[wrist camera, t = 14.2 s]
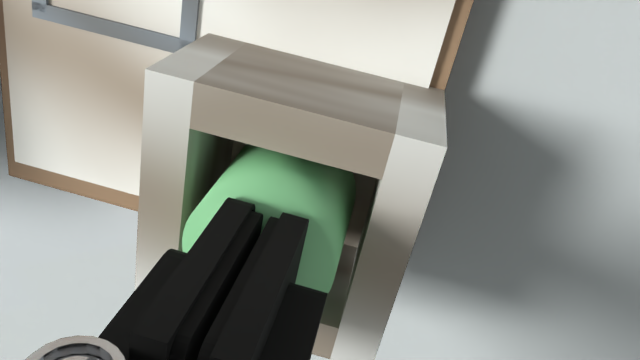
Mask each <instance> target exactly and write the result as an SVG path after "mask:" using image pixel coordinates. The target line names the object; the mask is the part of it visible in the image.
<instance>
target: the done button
mask: <svg viewBox="0 0 640 360" xmlns="http://www.w3.org/2000/svg"><path fill="white" fill-rule="evenodd" d="M228 197H230V198H234V199H237V200H241V201H244V202H248V203H252V204H255V212H257V213H261V214H263V222H262V228H261V233H262V231H263V229H264V227H265V225H266V223H267V221H268V220H269V218H270V217H271V216H272V217H275V218H280V216H281V214H282V213H283V212H284V213H288V214H291V215H295V216H299V217H302V218H306V219H309V225H308V229H307V233H306V238H305V242H304V247H303V251H302V255H301V260H300V264H299V269H298V273H297V278H296V282H295V284H298V285H301V286H305V287H308V288H312V289H315V290H319V291H322V292H326V293H329V291H330V289H331V287H332V284H333V281H334V278H335V274H336V271H337V267H338V263H339V259H340V256H341V252H342V248H343V245H344V241H345V237H346V233H347V230H348V226H349V222H350V219H351V215H352V211H353V207H354V204H355V198H356V184H355V179H354V175H353V172H351V171H347V170H343V169H339V168H336V167H332V166H328V165H324V164H321V163H317V162H313V161H309V160H306V159H302V158H298V157H294V156H291V155H287V154H283V153H279V152H276V151H272V150H268V149H265V148H261V147H257V146H253V145H250V144H246V145H245V146H244V147H243V149H242V150H241V151H240V152H239V154H238V155H237V156H236V158H235V159H234V160H233V161H232V163H231V164H230V165H229V166H228V168H227V169H226V170H225V172H224V173H223V174H222V175H221V177H220V178H219V179H218V180H217V182H216V183H215V184H214V186H213V187H212V188H211V189H210V191H209V192H208V193H207V194H206V196H205V197H204V198H203V199H202V201H201V202H200V203H199V205H198V206H197V207H196V208H195V210H194V211H193V212H192V213H191V215H190V216H189V218H188V220H187V222H186V225H185V228H184V231H183V236H182V250H183V252H186V253H188V251H189V250H190V249H191V247H192V246H193V244H194V243H195V242H196V240H197V239H198V238H199V236H200V235H201V233H202V232H203V231H204V229H205V228H206V226H207V225H208V224H209V222H210V221H211V220H212V218H213V217H214V215H215V214H216V213H217V211H218V210H219V208H220V207H221V206H222V204H223V203H224V201H225V200H226V199H227V198H228Z"/></svg>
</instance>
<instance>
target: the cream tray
mask: <svg viewBox="0 0 640 360" xmlns="http://www.w3.org/2000/svg"><path fill="white" fill-rule="evenodd" d="M473 1H474V0H0V75H1V87H2V99H3V111H4V123H5V135H6V147H7V159H8V171H9V175H10V176H13V177H17V178H20V179H24V180H28V181H31V182H35V183H38V184H42V185H45V186H49V187H53V188H56V189H60V190H63V191H67V192H70V193H74V194H78V195H81V196H85V197H88V198H92V199H95V200H99V201H103V202H106V203H110V204H113V205H117V206H120V207H124V208H128V209H131V210H135V211H138V229H137V250H136V272H135V290H136V289H137V287H138V286H139V285H140V284H141V282H142V281H143V280H144V278H145V277H146V276H147V275H148V273H149V272H150V271H151V270H152V268H153V267H154V266H155V264H156V263H157V262H158V261H159V259H160V258H161V257H162V256H163V254H164V253H165V252H166V251H167V250H169V249H175V250H179V251H182V252H183V250H182V236H183V231H184V228H185V225H186V222H187V220H188V218H189V216H190V215H191V213H192V212H193V211H194V210H195V208H196V207H197V206H198V205H199V203H200V202H201V201H202V199H203V198H204V197H205V196H206V194H207V193H208V192H209V191H210V189H211V188H212V187H213V186H214V184H215V183H216V182H217V180H218V179H219V178H220V177H221V175H222V174H223V173H224V172H225V170H226V169H227V168H228V166H229V165H230V164H231V163H232V161H233V160H234V159H235V158H236V156H237V155H238V154H239V152H240V151H241V150H242V149H243V147H244V146H245V145H246V144H250V145H253V146H257V147H261V148H265V149H268V150H272V151H276V152H279V153H283V154H287V155H291V156H294V157H298V158H302V159H306V160H309V161H313V162H317V163H321V164H324V165H328V166H332V167H336V168H339V169H343V170H347V171H351V172H353V175H354V179H355V184H356V198H355V204H354V207H353V211H352V215H351V219H350V222H349V226H348V230H347V233H346V237H345V241H344V245H343V248H342V252H341V256H340V259H339V263H338V267H337V271H336V274H335V278H334V281H333V284H332V287H331V289H330V291H329V293H328V295H327V298H326V302H325V306H324V310H323V314H322V317H321V321H320V325H319V329H318V332H317V336H316V340H315V343H314V347H313V351H312V354H314V355H317V356H321V357H324V358H328V359H331V360H374V359H375V357H376V354H377V351H378V348H379V345H380V342H381V339H382V336H383V333H384V330H385V327H386V325H387V322H388V319H389V316H390V313H391V310H392V307H393V304H394V301H395V298H396V296H397V293H398V290H399V287H400V284H401V281H402V278H403V275H404V272H405V269H406V267H407V264H408V261H409V258H410V255H411V252H412V249H413V246H414V243H415V240H416V237H417V235H418V232H419V229H420V226H421V223H422V220H423V217H424V214H425V211H426V208H427V206H428V203H429V200H430V197H431V194H432V191H433V188H434V185H435V182H436V179H437V176H438V174H439V171H440V168H441V165H442V162H443V159H444V156H445V153H446V150H447V129H446V109H445V87H446V84H447V81H448V78H449V75H450V72H451V69H452V66H453V63H454V60H455V56H456V53H457V50H458V47H459V44H460V41H461V38H462V35H463V32H464V29H465V26H466V22H467V19H468V16H469V13H470V10H471V7H472V4H473Z"/></svg>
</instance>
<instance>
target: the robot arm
mask: <svg viewBox="0 0 640 360" xmlns="http://www.w3.org/2000/svg"><path fill="white" fill-rule="evenodd" d="M262 222H263V214H261V213H257V212H255V204H252V203H248V202H244V201H241V200H237V199H234V198H230V197H228V198H227V199H226V200H225V201H224V203H223V204H222V206H221V207H220V208H219V210H218V211H217V213H216V214H215V215H214V217H213V218H212V220H211V221H210V222H209V224H208V225H207V226H206V228H205V229H204V231H203V232H202V233H201V235H200V236H199V238H198V239H197V240H196V242H195V243H194V244H193V246H192V247H191V249H190V250H189V251H188V253H186V252H182V251H179V250H175V249H169V250H167V251H166V252H165V253H164V254H163V256H162V257H161V258H160V259H159V261H158V262H157V263H156V264H155V266H154V267H153V268H152V270H151V271H150V272H149V273H148V275H147V276H146V277H145V278H144V280H143V281H142V282H141V284H140V285H139V286H138V287H137V289H136V290H135V291H134V292H133V294H132V295H131V296H130V298H129V299H128V300H127V301H126V303H125V304H124V305H123V306H122V308H121V309H120V310H119V312H118V313H117V314H116V315H115V317H114V318H113V319H112V320H111V322H110V323H109V324H108V325H107V327H106V328H105V329H104V331H103V332H102V333H101V334H100V336H99V337H98V338H97V337H94V336H72V337H65V338H61V339H58V340H55V341H53V342H50V343H48V344H46V345H44V346H43V347H41V348H39V349H38V350H36V351H35V352H33V353H32V354H31V355H30V356H29V357H27V358H26V359H25V360H310V358H311V354H312V351H313V347H314V343H315V340H316V336H317V332H318V329H319V325H320V321H321V317H322V314H323V310H324V306H325V302H326V298H327V295H328V293H326V292H322V291H319V290H315V289H312V288H308V287H305V286H301V285H298V284H295V282H296V278H297V273H298V269H299V264H300V260H301V255H302V251H303V247H304V242H305V238H306V233H307V229H308V225H309V219H306V218H302V217H299V216H295V215H291V214H288V213H284V212H283V213H282V214H281V216H280V218H275V217H272V216H271V217H270V218H269V220H268V221H267V223H266V225H265V227H264V229H263V231H262V233H261V228H262Z"/></svg>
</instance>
